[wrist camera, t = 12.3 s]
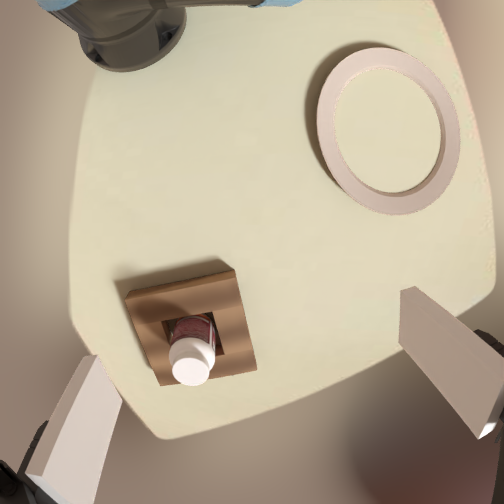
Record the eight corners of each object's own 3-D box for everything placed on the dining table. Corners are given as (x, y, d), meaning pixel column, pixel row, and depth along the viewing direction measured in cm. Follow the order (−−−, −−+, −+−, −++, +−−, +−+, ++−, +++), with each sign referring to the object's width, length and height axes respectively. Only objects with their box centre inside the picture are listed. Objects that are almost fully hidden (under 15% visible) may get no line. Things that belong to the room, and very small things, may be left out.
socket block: (129, 291, 44) (124, 300, 41) (234, 269, 45) (235, 277, 42) (162, 374, 49) (160, 386, 46) (255, 358, 50) (257, 370, 47)
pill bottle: (166, 323, 46) (155, 366, 36) (198, 302, 46) (192, 343, 35) (192, 350, 48) (187, 396, 38) (223, 331, 48) (225, 376, 37)
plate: (459, 86, 39) (466, 85, 38) (437, 226, 46) (444, 229, 45) (326, 28, 36) (330, 23, 34) (297, 194, 43) (300, 196, 41)
